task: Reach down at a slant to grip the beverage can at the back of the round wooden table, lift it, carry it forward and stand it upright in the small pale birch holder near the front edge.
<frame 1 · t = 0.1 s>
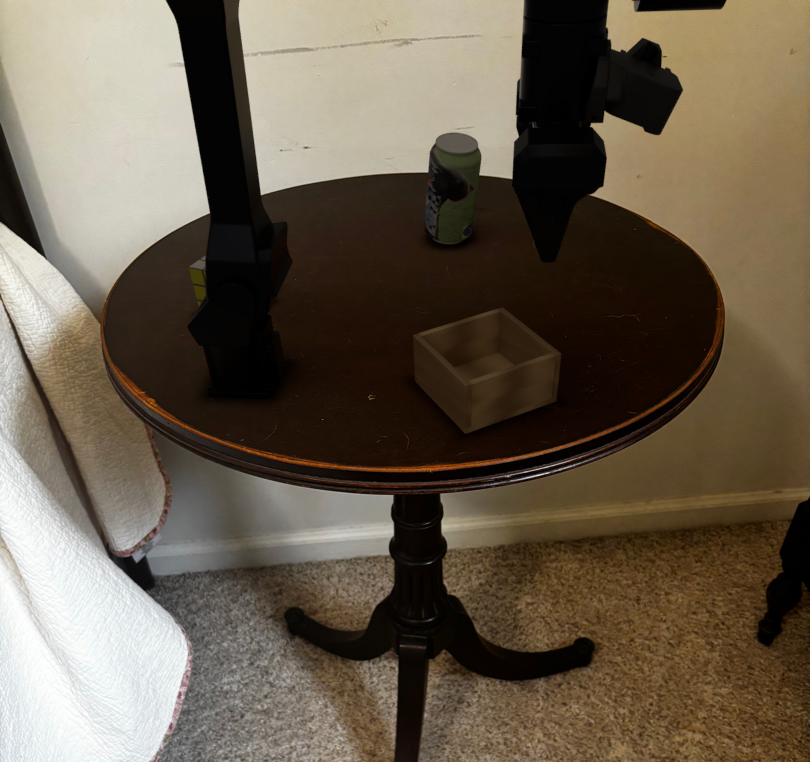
hand: (547, 236, 66), 15 cm above the table, tool pointing down, fingers open, 9 cm apart
beverage can: (451, 240, 100), on the table
holder: (484, 391, 76), on the table
puzzle toy: (236, 310, 90), on the table
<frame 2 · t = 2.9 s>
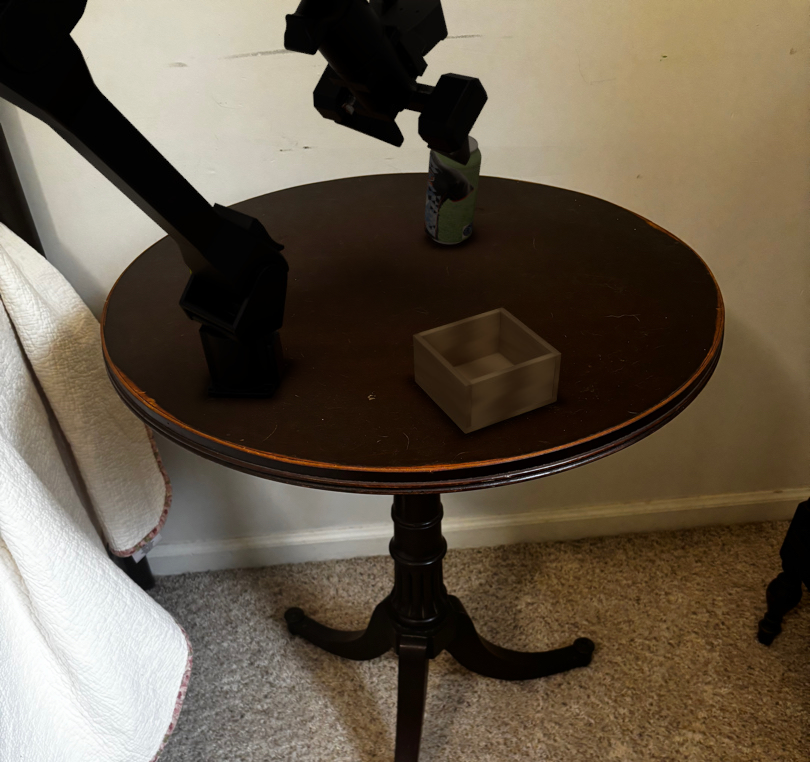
hand: (433, 151, 84), 13 cm above the table, tool tilted 40°, fingers open, 9 cm apart
nothing on the table moved.
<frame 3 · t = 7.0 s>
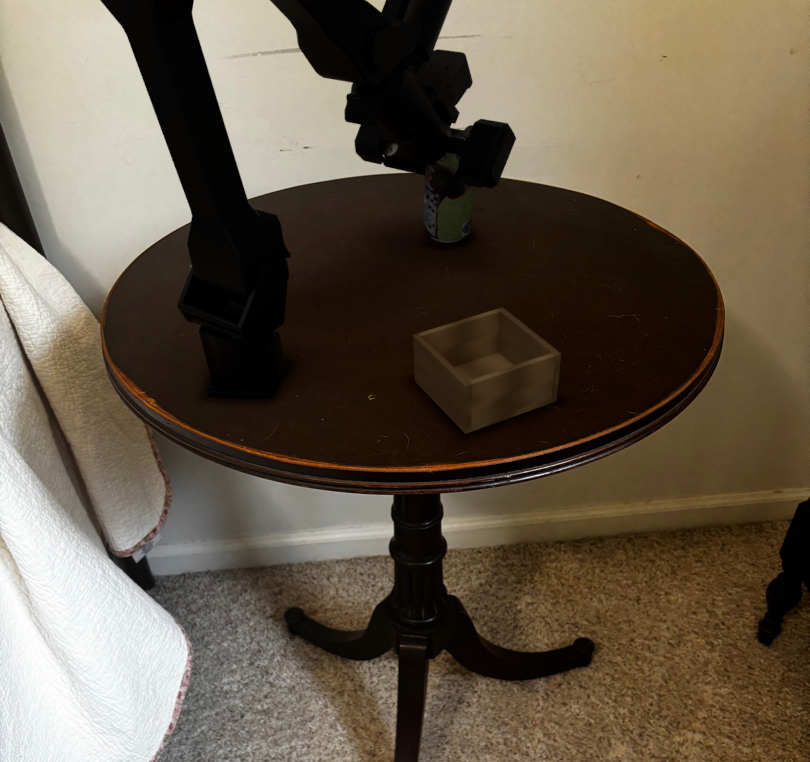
hand: (461, 179, 96), 7 cm above the table, tool tilted 45°, fingers closed on beverage can, 6 cm apart
beverage can: (451, 239, 100), on the table, touching gripper
everything else where it was.
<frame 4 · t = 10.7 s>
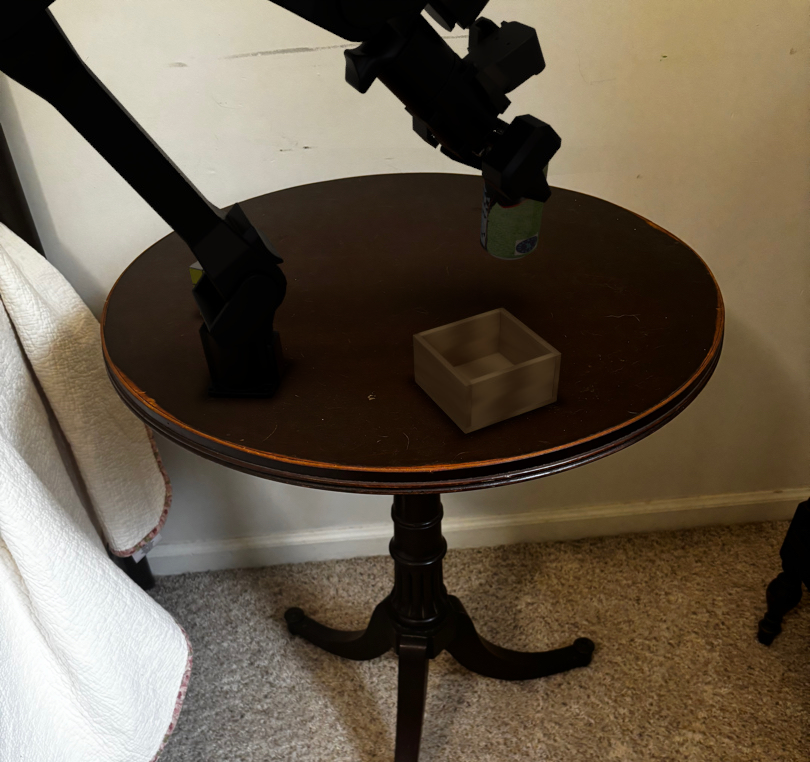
hand: (531, 187, 78), 13 cm above the table, tool tilted 45°, fingers closed on beverage can, 6 cm apart
beverage can: (510, 256, 83), point 6 cm above the table, touching gripper
everything else where it was.
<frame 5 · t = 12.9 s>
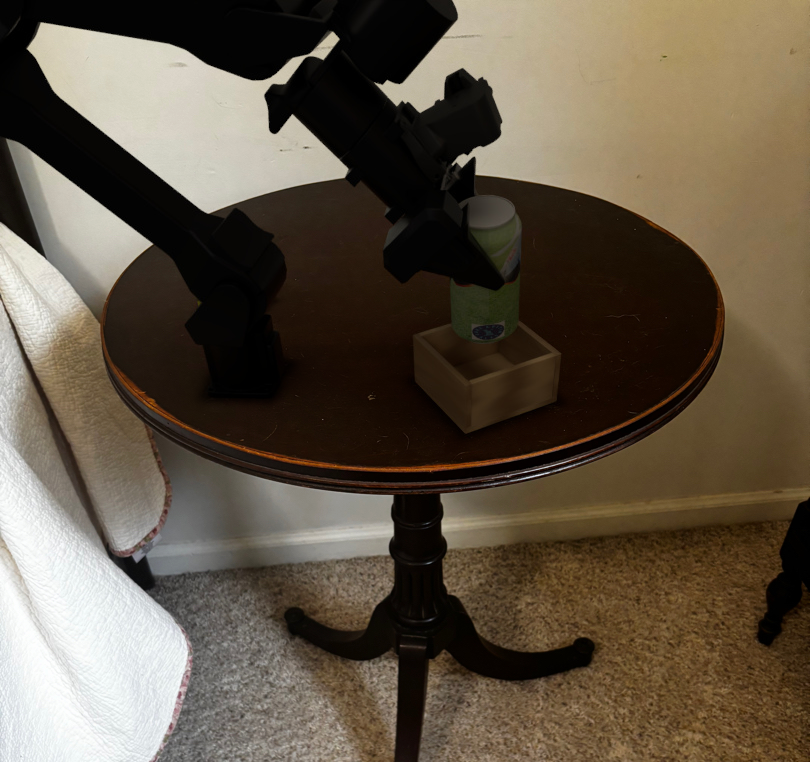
hand: (502, 269, 67), 12 cm above the table, tool tilted 45°, fingers closed on beverage can, 6 cm apart
beverage can: (482, 338, 73), point 5 cm above the table, touching gripper
everything else where it was.
when the fingers open (7 cm above the table, at t = 14.8 s): beverage can stays where it is, resting on holder.
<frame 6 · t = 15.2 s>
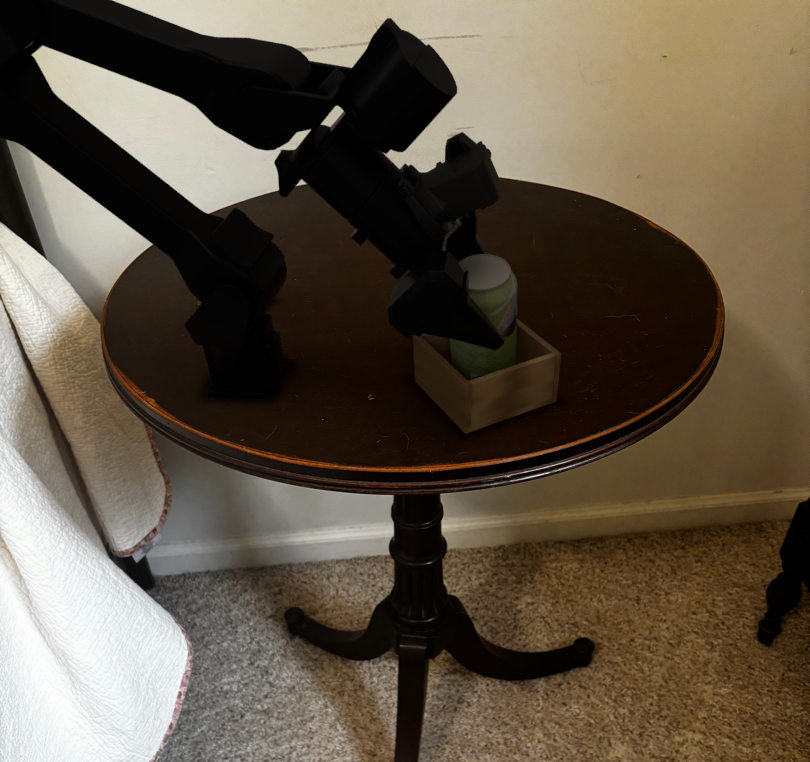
hand: (502, 318, 70), 8 cm above the table, tool tilted 45°, fingers open, 9 cm apart
beverage can: (481, 383, 76), resting on holder
everything else where it was.
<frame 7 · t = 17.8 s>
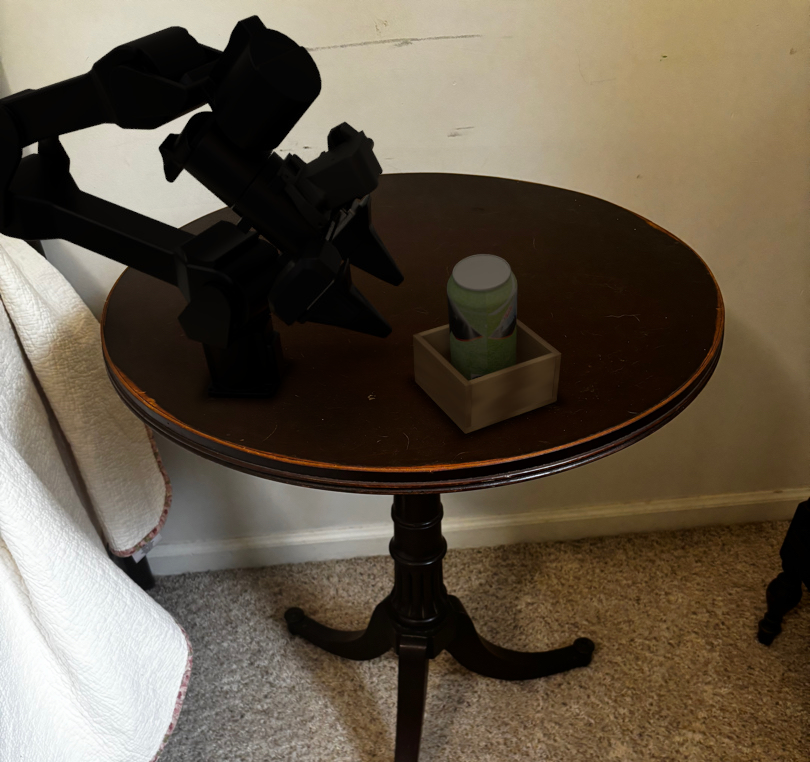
hand: (395, 307, 71), 9 cm above the table, tool tilted 45°, fingers open, 9 cm apart
nothing on the table moved.
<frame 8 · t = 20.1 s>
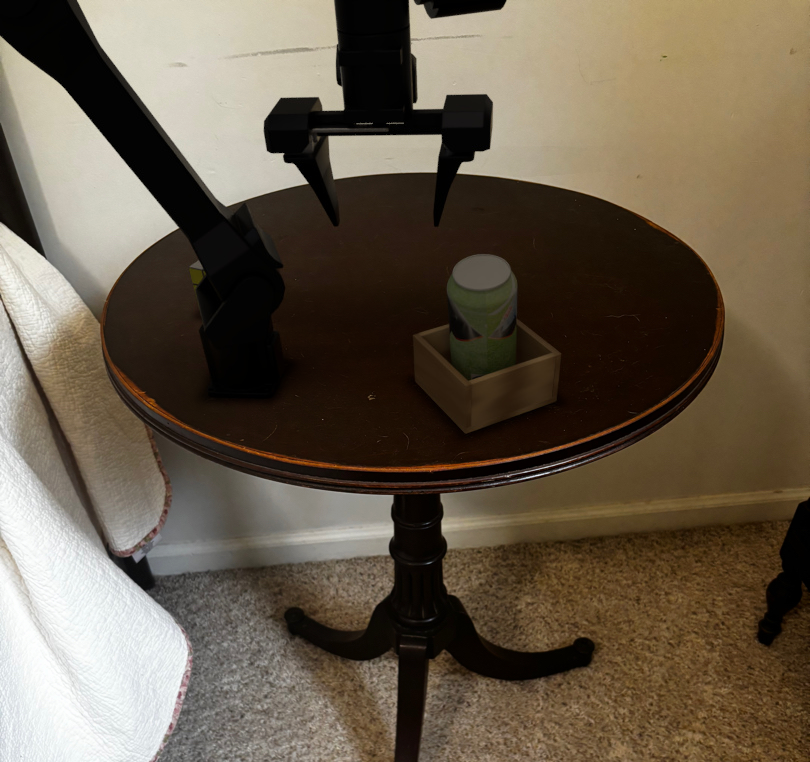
hand: (386, 224, 73), 13 cm above the table, tool pointing down, fingers open, 9 cm apart
nothing on the table moved.
at the end: beverage can 0.7 cm off-centre in the holder, point 0.4 cm above the holder's base; beverage can tilted 0°; the gripper is holding nothing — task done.
